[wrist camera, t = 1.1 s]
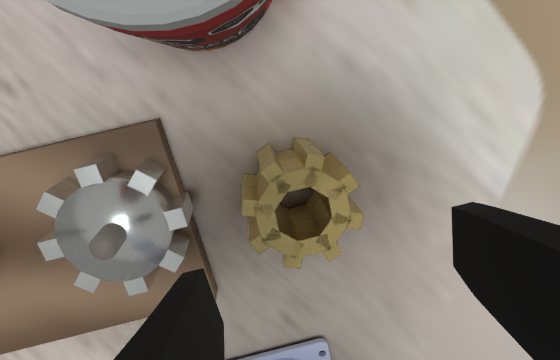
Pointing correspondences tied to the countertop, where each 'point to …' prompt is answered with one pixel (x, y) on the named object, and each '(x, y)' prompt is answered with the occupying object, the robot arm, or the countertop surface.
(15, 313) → the gear board
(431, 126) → the countertop surface
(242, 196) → the brass gear
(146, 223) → the gear
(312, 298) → the countertop surface
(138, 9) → the canned food
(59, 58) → the countertop surface
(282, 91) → the countertop surface
